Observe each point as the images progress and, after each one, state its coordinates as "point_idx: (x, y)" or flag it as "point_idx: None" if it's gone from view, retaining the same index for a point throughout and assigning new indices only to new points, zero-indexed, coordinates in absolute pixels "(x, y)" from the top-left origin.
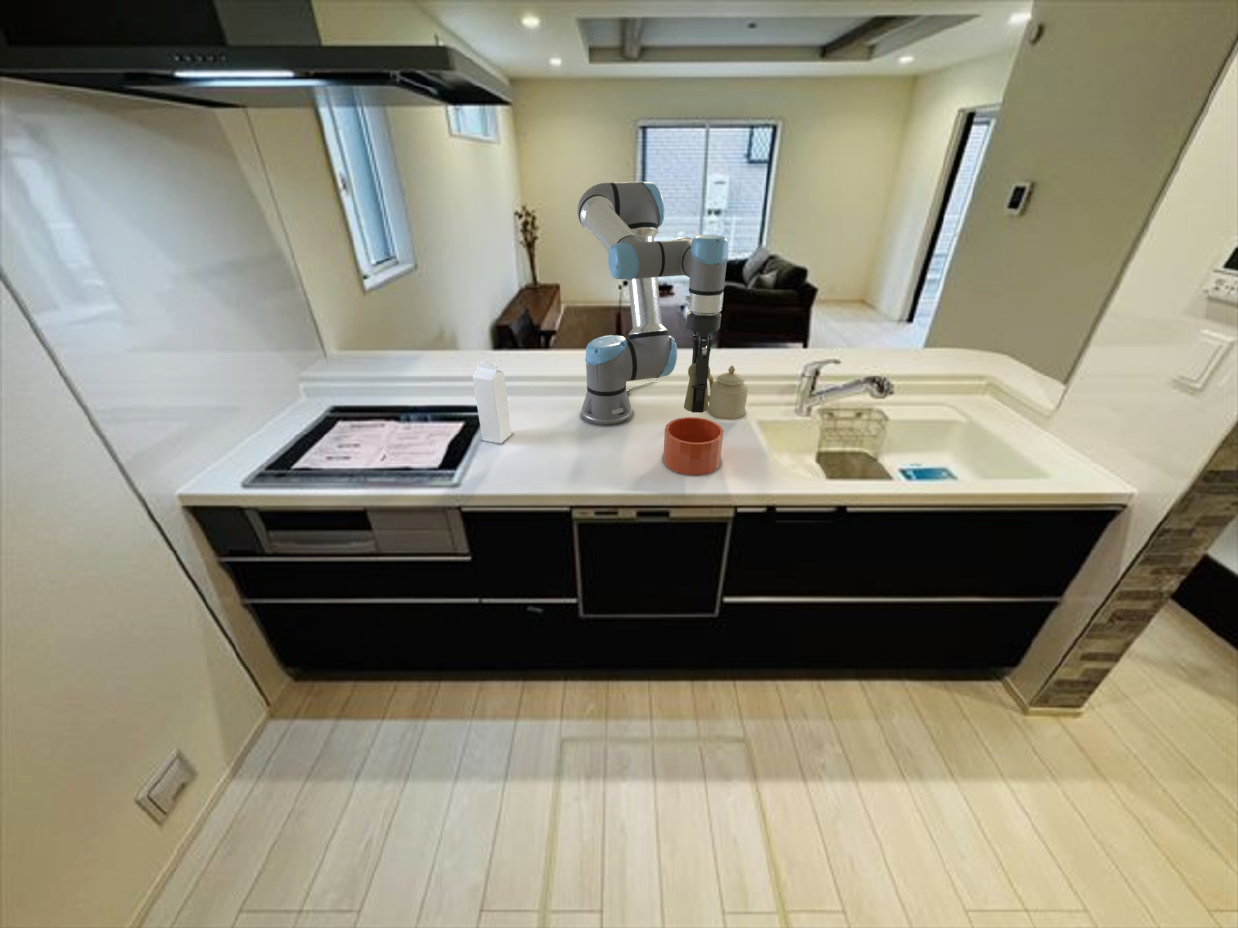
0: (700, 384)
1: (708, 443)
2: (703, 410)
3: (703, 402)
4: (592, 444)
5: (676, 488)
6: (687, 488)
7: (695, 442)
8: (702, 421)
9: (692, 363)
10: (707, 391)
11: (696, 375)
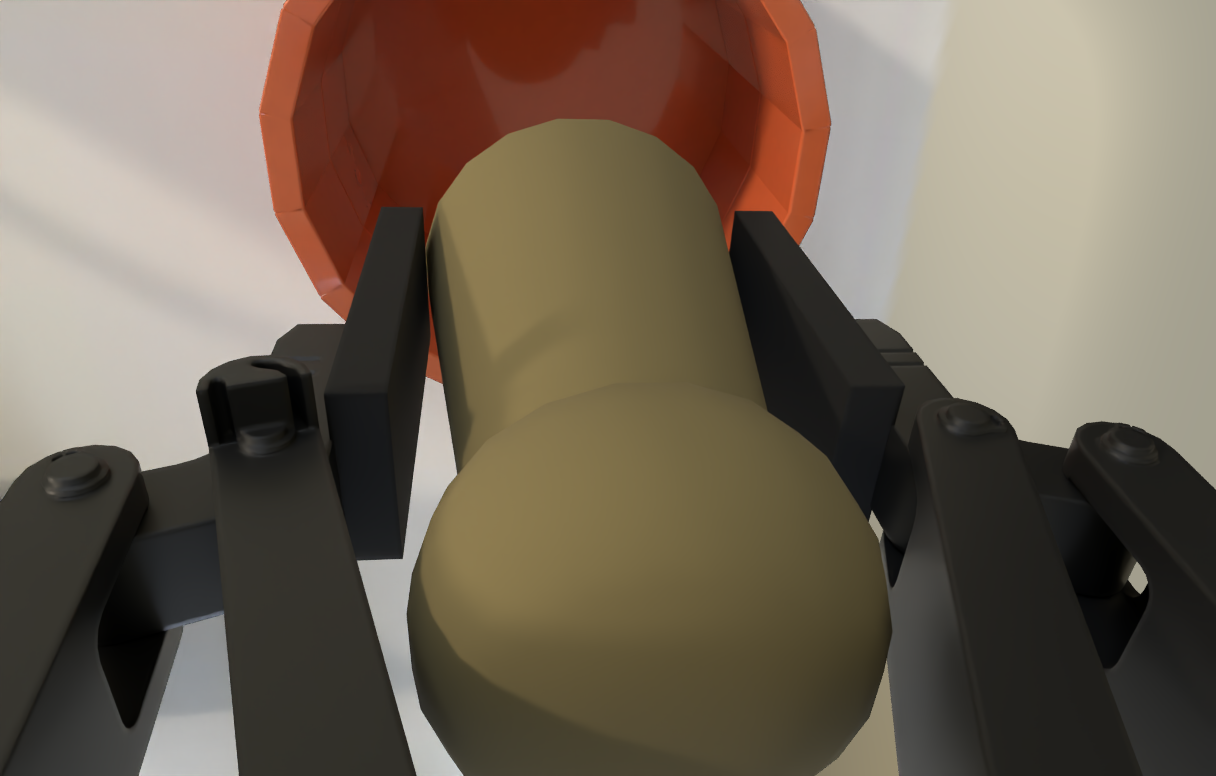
0: (1130, 562)
1: (820, 59)
2: (713, 202)
3: (814, 276)
4: (387, 636)
5: (873, 216)
6: (884, 149)
7: (339, 51)
8: (312, 50)
9: (155, 709)
10: (653, 248)
11: (1130, 740)
